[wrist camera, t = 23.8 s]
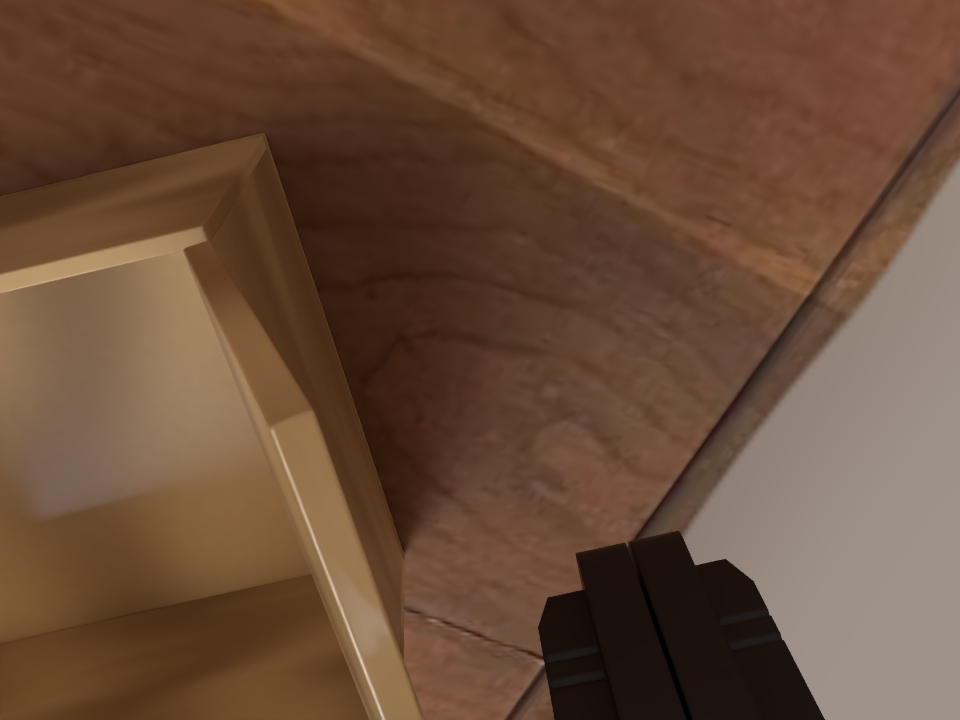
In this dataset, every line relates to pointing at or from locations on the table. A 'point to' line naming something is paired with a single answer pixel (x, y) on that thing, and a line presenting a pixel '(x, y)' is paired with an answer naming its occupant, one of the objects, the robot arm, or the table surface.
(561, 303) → the table surface
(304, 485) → the flap
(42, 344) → the wooden box
